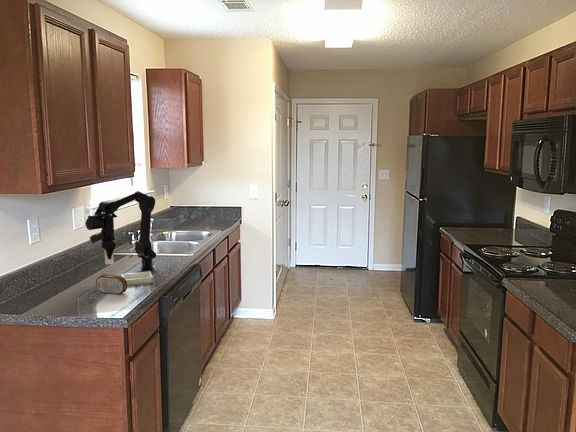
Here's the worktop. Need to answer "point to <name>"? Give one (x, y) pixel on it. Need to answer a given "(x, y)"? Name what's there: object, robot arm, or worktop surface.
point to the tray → (138, 278)
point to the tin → (111, 284)
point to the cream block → (108, 261)
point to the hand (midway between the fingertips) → (109, 258)
